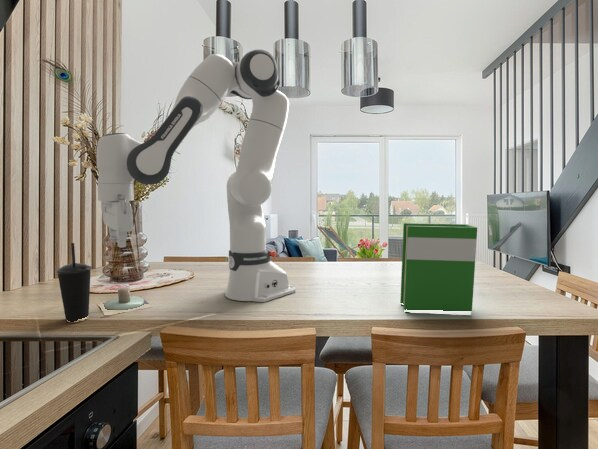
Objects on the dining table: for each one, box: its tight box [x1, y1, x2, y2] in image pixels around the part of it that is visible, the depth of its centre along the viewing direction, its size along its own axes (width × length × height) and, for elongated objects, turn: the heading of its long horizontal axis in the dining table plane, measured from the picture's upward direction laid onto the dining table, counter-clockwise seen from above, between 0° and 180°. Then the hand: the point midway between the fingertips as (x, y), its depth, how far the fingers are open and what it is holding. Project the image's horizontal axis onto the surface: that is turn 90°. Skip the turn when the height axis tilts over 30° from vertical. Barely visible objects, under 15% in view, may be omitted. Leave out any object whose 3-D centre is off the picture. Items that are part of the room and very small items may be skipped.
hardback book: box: [399, 222, 478, 312], centre depth 104 cm, size 18×7×24 cm, turn 84°
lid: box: [104, 287, 145, 310], centre depth 105 cm, size 10×10×5 cm
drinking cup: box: [55, 242, 93, 322], centre depth 94 cm, size 8×8×20 cm
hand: (118, 244), depth 104 cm, fingers open, 8 cm apart
